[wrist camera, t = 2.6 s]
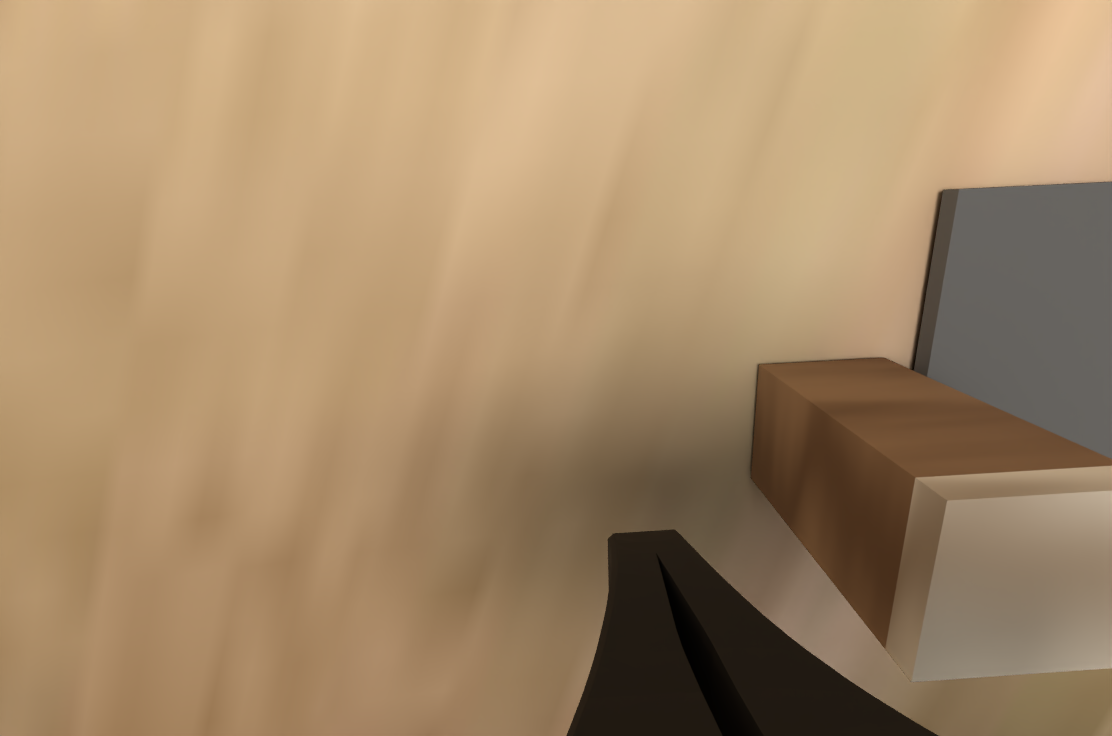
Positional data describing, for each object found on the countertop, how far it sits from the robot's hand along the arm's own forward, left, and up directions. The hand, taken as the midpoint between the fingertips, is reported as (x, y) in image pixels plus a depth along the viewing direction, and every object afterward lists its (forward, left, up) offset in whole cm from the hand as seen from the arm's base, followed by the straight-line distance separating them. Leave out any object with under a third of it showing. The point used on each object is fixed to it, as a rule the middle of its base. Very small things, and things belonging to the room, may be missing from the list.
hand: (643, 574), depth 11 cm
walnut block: (0, -7, -7) cm, 10 cm away
